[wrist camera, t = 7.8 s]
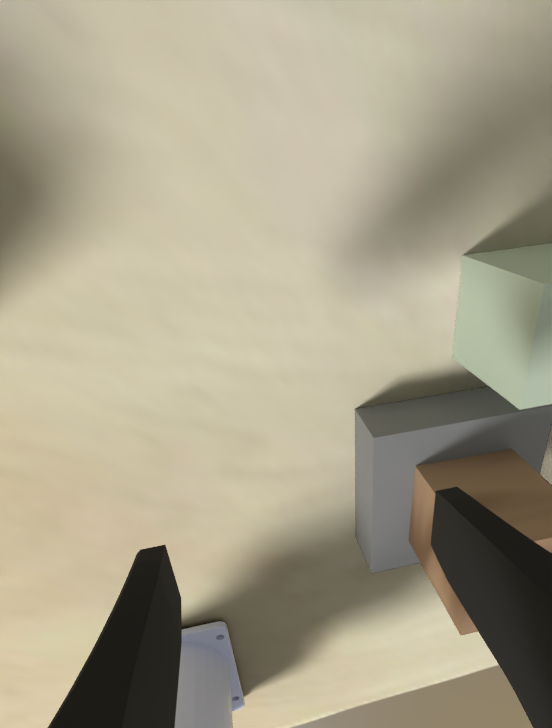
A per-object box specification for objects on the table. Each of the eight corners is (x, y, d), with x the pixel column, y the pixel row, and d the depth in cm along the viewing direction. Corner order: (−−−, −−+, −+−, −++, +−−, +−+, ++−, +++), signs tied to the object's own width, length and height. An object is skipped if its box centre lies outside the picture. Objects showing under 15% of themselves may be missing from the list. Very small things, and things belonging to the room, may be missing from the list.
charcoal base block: (490, 502, 27) (523, 540, 24) (352, 530, 26) (371, 573, 23) (513, 376, 23) (556, 405, 20) (351, 403, 22) (373, 438, 19)
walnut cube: (496, 523, 23) (568, 611, 18) (408, 540, 22) (460, 635, 18) (512, 449, 21) (598, 528, 16) (415, 465, 20) (476, 552, 16)
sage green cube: (543, 341, 21) (634, 388, 17) (450, 356, 21) (519, 409, 16) (564, 240, 19) (675, 264, 15) (461, 254, 19) (543, 284, 14)
